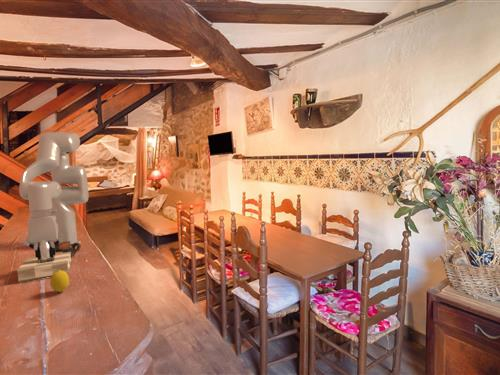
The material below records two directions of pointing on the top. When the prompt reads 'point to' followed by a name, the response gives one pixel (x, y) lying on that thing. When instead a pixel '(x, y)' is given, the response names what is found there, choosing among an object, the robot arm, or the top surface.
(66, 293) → the top surface
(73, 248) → the pottery mug
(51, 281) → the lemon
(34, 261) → the bore block
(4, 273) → the top surface
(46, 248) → the pin
